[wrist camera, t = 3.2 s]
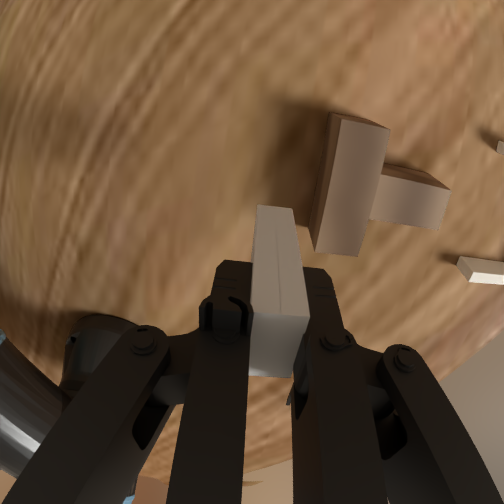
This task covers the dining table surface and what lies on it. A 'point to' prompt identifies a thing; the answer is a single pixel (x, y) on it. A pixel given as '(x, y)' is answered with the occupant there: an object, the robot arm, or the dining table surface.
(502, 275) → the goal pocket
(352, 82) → the dining table surface
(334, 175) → the t block
